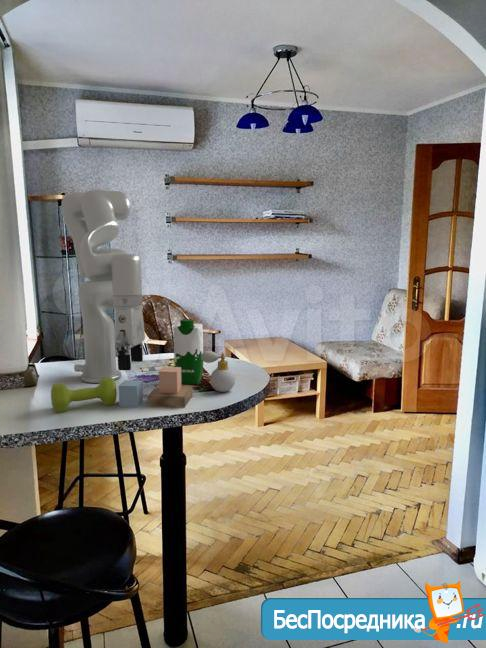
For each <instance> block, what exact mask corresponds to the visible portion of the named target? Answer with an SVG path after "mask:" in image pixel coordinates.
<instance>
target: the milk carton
mask: <svg viewBox="0 0 486 648" xmlns="http://www.w3.org/2000/svg"><path fill="white" fill-rule="evenodd" d="M194 322H195V321H194V319H192V318H191V319H190V318H184V319H180V322H179V323H178V324H175V326H174V327H173V359H174V363H173V365H174V366H173V367H181V385H199V384H200V382H201V380H202V379H203V371H204V361H203V360H202V358H201V355H202V353H203V352H204V331H203V323H194Z"/></svg>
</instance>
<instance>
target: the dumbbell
mask: <svg viewBox="0 0 486 648" xmlns="http://www.w3.org/2000/svg"><path fill="white" fill-rule="evenodd" d="M115 381H116V380H113V379H112V378H111V377H105V378H102V379H101V381H100V383H98V385H97V386H96V387H88V388H86V387H85V388H79V389H74V390H73V389H72V390H70V389H69V388H68V386H67V385H66V384H64V383H63V382H55V383H53V385H52V386H51V389H50V401H51V406H52V408H53V410H54V413H56V414H58V413H59V414H60V413H64V412H67V410H68V408H69V405H70V404H71V403H72V402H83V401H89V400H94V399H99V400H100V401H101V403H102V404H103V405H105V406H113V405H115V404H116V402H117V396H118V393H117V385H116V382H115Z"/></svg>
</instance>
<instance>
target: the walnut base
mask: <svg viewBox="0 0 486 648" xmlns="http://www.w3.org/2000/svg"><path fill="white" fill-rule="evenodd" d="M181 387H182V388H181V389H180V390H179V392H178V393H159V383H158V384H157V385H156V386H155V387H154V388H153V389H152V390H151V392H150V393H148V394H147V402H148V404H147V405H148V407H161V408H162V407H163V408H164V407H166V408H168V407H169V408H186V406H187V404H188V403H189V402H190V400H191V398H192V397H193V384H181Z"/></svg>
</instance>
